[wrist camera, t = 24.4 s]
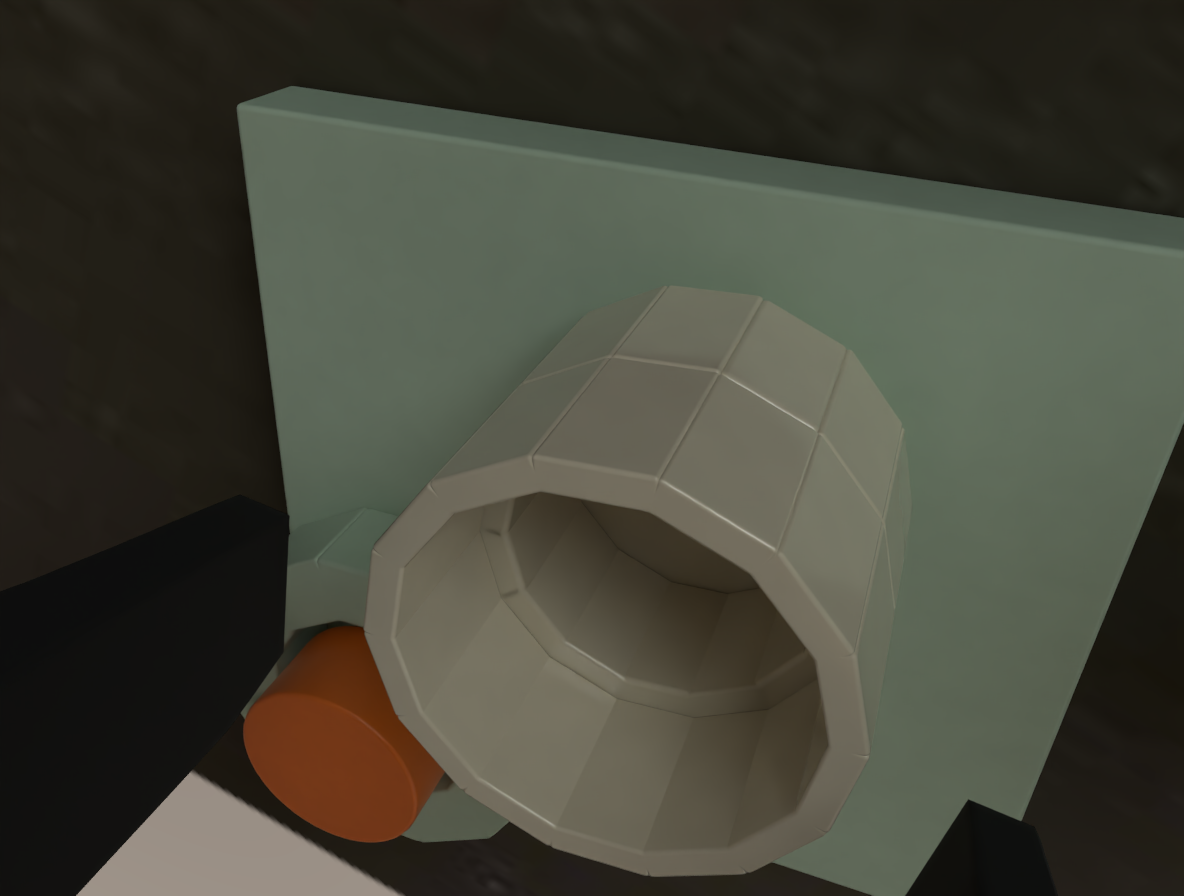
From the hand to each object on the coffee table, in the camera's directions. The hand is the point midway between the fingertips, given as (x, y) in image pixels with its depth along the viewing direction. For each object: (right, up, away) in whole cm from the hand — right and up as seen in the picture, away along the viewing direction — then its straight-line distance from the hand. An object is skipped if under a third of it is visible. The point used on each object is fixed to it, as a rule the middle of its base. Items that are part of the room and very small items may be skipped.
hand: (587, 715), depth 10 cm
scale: (+1, +2, +7) cm, 7 cm away
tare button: (-4, -2, +7) cm, 8 cm away
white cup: (+2, +3, +4) cm, 5 cm away
